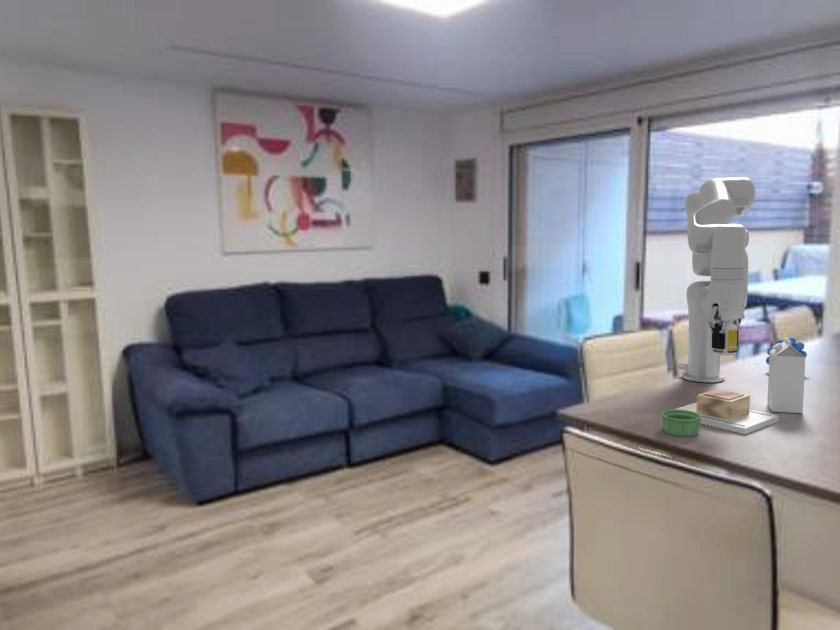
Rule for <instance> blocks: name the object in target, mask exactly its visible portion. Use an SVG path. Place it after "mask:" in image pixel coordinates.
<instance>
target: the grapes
mask: <svg viewBox="0 0 840 630" xmlns="http://www.w3.org/2000/svg"><path fill="white" fill-rule="evenodd" d="M787 339H789V340H790V341H791V346H792V347H793V348H795V349H796V350H797V351H798V352H800V353H801V354H802V355H803V356H804V357H805V359H806V358H807V356H808V354H807V352H806V350H804V348H805V343H803V342H800V341H798V342H797V340H796V339H795V338H794V337H787ZM784 341H785V339H778V340H776V341H775V342H774V346H775V345H776V344H778V343H782V342H784ZM774 346H770V347H769V348H768V349H767V350H766V354H767V355H768V357H766V358H765V363H766V364H767V365H768V366H769V356H770V351H771V350H772V349H774V348H773V347H774Z"/></svg>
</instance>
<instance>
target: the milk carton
mask: <svg viewBox="0 0 840 630" xmlns="http://www.w3.org/2000/svg"><path fill="white" fill-rule="evenodd" d="M772 347H773V348H774V349H772V350H771V351H770V355H768V357H769V365H768V378H767V379H768V381H767V382H768V383H767V385H768V386H767V406H768V408H769V410H770V411H771V412H774V413H775V412H776V413H791V414H803V413H804V396H805V395H804V394H805V392H804V391H805V377H806V376H805V373H806V358H805V357H804V356H803V355H802V354H801V353H800V352H798V351H797V350H796V349H795V348H793V347H792V346H791V341H790V340H789V339H788V337H787V336H784V342H782V343H778V344H776V345H775V344H774V345H773V346H772Z"/></svg>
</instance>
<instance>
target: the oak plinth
mask: <svg viewBox="0 0 840 630" xmlns="http://www.w3.org/2000/svg"><path fill="white" fill-rule="evenodd" d="M696 402H697V409H696V413H700V414H704V415H709V416H713V417H717V418H722V419H726V420H733V419H736V418H739V417H741V416H744V415H747V414H749V410H751V409H750V407H751V406H750V404H751V395H748V394H744V393H740V392H739V393H738V392H734V391H728V390H723V389H717V388H716V389H711V390H709V391H705V392H703V393H699V394H696Z"/></svg>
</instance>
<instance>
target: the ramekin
mask: <svg viewBox="0 0 840 630" xmlns="http://www.w3.org/2000/svg"><path fill="white" fill-rule="evenodd" d="M660 416H661V418H662V430H663V431H664V432H665V433H666V434H668V435H671V436H675V435H676V436H675V437H684V436H689V437H693V436H694V435H695V436H696V435H698V434H699V432H700V427H701V426H700V425H701V424H700V420H701V418H702V416H701V415H700V414H699V413H696V412H693V411H688V410H680V409H676V408H674V409H673V408H672V409H667V410H663V411H661V415H660ZM695 436H694V437H695Z"/></svg>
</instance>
